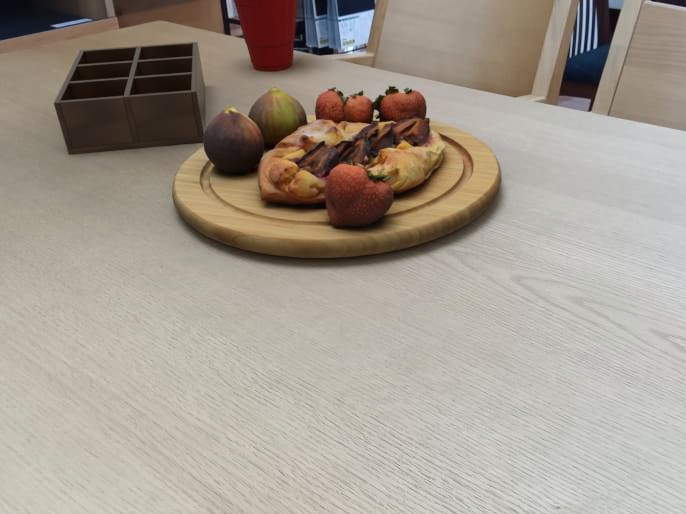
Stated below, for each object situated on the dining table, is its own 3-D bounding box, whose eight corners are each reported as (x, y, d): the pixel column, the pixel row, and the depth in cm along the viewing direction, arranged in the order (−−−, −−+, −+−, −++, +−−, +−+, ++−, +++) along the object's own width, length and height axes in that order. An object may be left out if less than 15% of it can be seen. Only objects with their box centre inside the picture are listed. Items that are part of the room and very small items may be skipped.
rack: (68, 154, 83) (53, 102, 79) (91, 94, 100) (79, 50, 97) (205, 142, 85) (196, 91, 82) (204, 85, 102) (197, 41, 99)
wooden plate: (510, 269, 61) (519, 171, 56) (127, 264, 63) (102, 169, 58) (492, 131, 86) (497, 54, 81) (220, 131, 88) (207, 56, 83)
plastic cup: (326, 64, 109) (319, -29, 102) (265, 80, 103) (254, -17, 96) (281, 51, 115) (272, -37, 108) (222, 66, 110) (208, -27, 102)
